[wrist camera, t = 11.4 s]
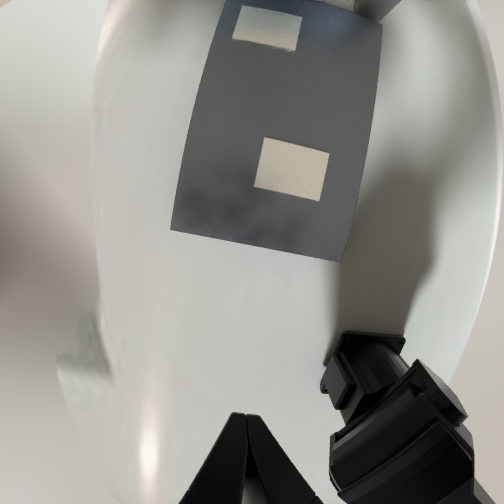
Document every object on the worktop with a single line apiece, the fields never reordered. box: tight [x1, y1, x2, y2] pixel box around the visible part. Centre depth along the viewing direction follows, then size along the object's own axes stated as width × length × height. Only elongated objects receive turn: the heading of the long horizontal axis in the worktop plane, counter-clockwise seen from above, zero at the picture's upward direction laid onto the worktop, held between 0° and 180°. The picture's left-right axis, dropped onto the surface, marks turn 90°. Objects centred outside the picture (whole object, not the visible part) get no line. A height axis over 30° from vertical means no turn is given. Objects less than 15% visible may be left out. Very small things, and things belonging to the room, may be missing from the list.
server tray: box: [170, 0, 382, 263], centre depth 16 cm, size 11×18×2 cm, turn 168°
